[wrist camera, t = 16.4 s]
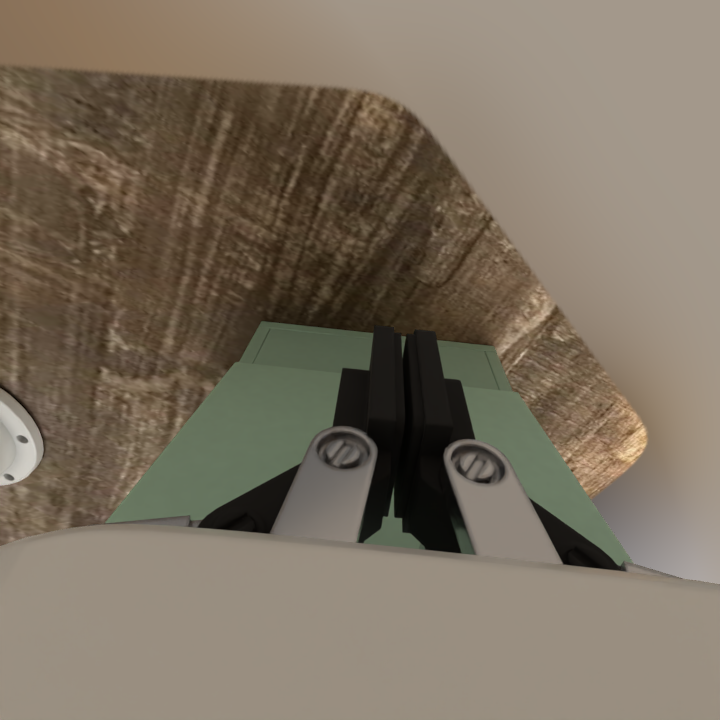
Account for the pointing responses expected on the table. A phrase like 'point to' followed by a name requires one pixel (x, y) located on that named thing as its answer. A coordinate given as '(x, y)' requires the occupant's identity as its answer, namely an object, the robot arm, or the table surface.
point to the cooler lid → (309, 417)
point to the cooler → (364, 353)
